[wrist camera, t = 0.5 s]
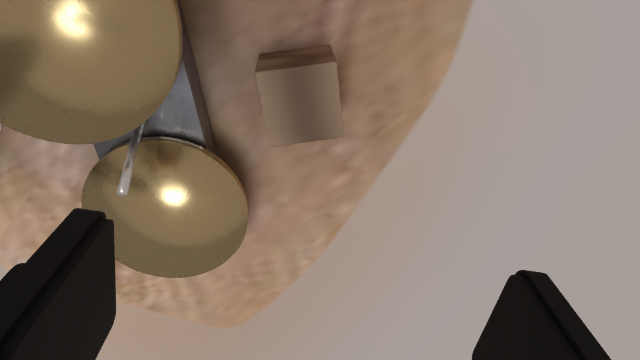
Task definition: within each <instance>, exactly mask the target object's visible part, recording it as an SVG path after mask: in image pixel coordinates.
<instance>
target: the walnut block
mask: <svg viewBox="0 0 640 360" xmlns="http://www.w3.org/2000/svg"><path fill="white" fill-rule="evenodd" d="M255 75H256V81H257V86H258V91H259V96H260V102H261V107H262V112H263V118H264V123H265V128H266V133H267V139H268V144H269V147H273V146H281V145H288V144H296V143H303V142H311V141H318V140H325V139H333V138H340V137H344V132H343V122H342V112H341V102H340V92H339V82H338V72H337V62H336V59H335V57H334V54H333V52H332V49H331V47H330V45H325V46H318V47H310V48H303V49H295V50H288V51H280V52H273V53H266V54H259V58H258V62H257V66H256V70H255Z"/></svg>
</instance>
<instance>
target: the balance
mask: <svg viewBox="0 0 640 360" xmlns="http://www.w3.org/2000/svg"><path fill="white" fill-rule="evenodd" d="M0 123H2V124H4V125H6V126H8V127H10V128H12V129H14V130H16V131H18V132H21V133H24V134H26V135H29V136H32V137H35V138H39V139H42V140H46V141H51V142H57V143H64V144H90V143H93V144H94V146H95V149H96V151H97V154H98V156H99V159H100V160H99V162H98V163H97V164H96V165H95V166H94V168H93V169H92V170H91V172H90V173H89V175H88V177H87V179H86V181H85V184H84V187H83V191H82V209H88V210H95V211H102V212H104V213H105V215H106V219H112V220H113V222H114V244H115V259H116V260H117V261H119V262H120V263H122V264H124V265H126V266H128V267H130V268H132V269H134V270H136V271H139V272H142V273H145V274H149V275H153V276H158V277H167V278H182V277H190V276H196V275H199V274H203V273H206V272H208V271H210V270H213V269H215V268H217V267H218V266H220V265H222V264H223V263H224V262H226V261H227V260H228V259H229V258H230V257H231V256H232V255H233V254H234V253H235V252H236V250H237V249H238V248H239V246H240V245H241V243H242V241H243V239H244V236H245V233H246V229H247V222H248V201H247V197H246V194H245V190H244V188H243V186H242V184H241V182H240V180H239V179H238V177H237V176H236V174H235V173H234V172H233V170H232V169H231V168H230V167H229V166H228V165H227V164H226V163H225V162H224V161H223V160H222V159H221V158H219V156H218V152H217V148H216V144H215V140H214V136H213V132H212V128H211V124H210V120H209V116H208V112H207V108H206V104H205V100H204V96H203V92H202V88H201V85H200V81H199V77H198V73H197V69H196V65H195V61H194V57H193V53H192V49H191V45H190V41H189V37H188V33H187V29H186V25H185V21H184V17H183V13H182V9H181V5H180V1H179V0H0Z"/></svg>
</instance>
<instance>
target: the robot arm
mask: <svg viewBox="0 0 640 360" xmlns="http://www.w3.org/2000/svg"><path fill="white" fill-rule="evenodd" d="M115 314H116V287H115V244H114V222H113V220H112V219H106V215H105V213H104V212H102V211H95V210H88V209H80V208H75V209H74V210H73V211H72V212H71V213H70V214H69V215H68V216H67V217H66V218H65V219H64V221H63V222H62V223H61V224H60V225H59V226H58V227H57V228H56V229H55V231H54V232H53V233H52V234H51V235H50V236H49V237H48V238H47V240H46V241H45V242H44V243H43V244H42V245H41V246H40V247H39V248H38V250H37V251H36V252H35V253H34V254H33V255H32V256H31V257H30V258H29V260H28V261H27V262H26V263H20V264H17V265H16V266H14V267H13V268H12V269H11V270H10V271H9V272H8V273H7V274H6V275H5V276H4V277H3V278H2V279H1V281H0V360H95V359H96V357H97V355H98V353H99V351H100V349H101V347H102V345H103V343H104V341H105V339H106V338H107V336H108V334H109V332H110V330H111V328H112V326H113V323H114V319H115ZM472 360H611V359H610V357H609V356H608V355H607V354H606V352H605V351H604V349H603V348H602V347H601V345H600V344H599V343H598V342H597V340H596V339H595V337H594V336H593V335H592V333H591V332H590V331H589V330H588V328H587V327H586V326H585V324H584V323H583V322H582V320H581V319H580V318H579V316H578V315H577V314H576V312H575V311H574V310H573V308H572V307H571V306H570V304H569V303H568V302H567V300H566V299H565V298H564V296H563V295H562V294H561V292H560V291H559V290H558V288H557V287H556V286H555V284H554V283H553V282H552V280H551V279H550V278H549V276H548V275H547V274H545V273H541V272H534V271H526V270H520V271H518V272H517V273H516V274H515V275H511V276H510V277H509V279H508V281H507V282H506V285H505V286H504V289H503V291H502V293H501V295H500V297H499V299H498V301H497V303H496V305H495V307H494V309H493V312H492V314H491V316H490V318H489V320H488V322H487V324H486V326H485V328H484V330H483V332H482V334H481V336H480V338H479V341H478V342H477V345H476V347H475V349H474V351H473V354H472Z"/></svg>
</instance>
